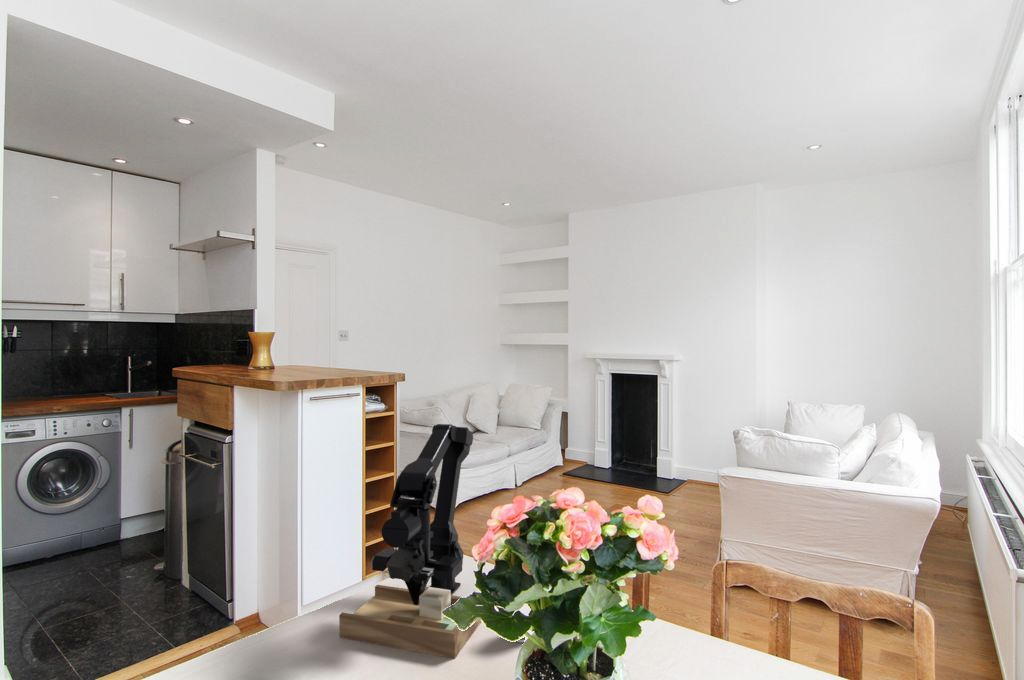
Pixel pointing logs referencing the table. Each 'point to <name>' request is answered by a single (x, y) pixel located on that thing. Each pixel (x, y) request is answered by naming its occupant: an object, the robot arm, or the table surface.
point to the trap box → (403, 625)
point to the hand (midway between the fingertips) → (416, 604)
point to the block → (434, 602)
